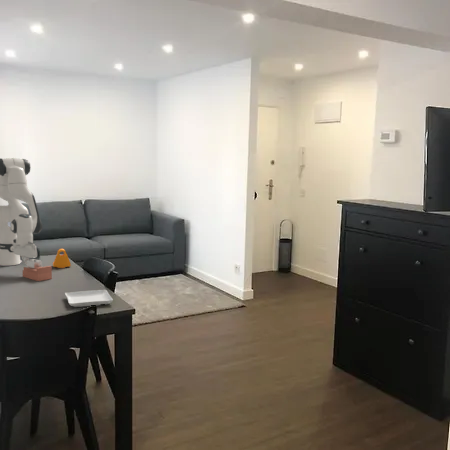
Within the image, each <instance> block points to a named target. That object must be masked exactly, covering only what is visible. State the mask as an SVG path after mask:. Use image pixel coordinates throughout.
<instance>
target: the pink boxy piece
mask: <svg viewBox="0 0 450 450" xmlns="http://www.w3.org/2000/svg"><path fill="white" fill-rule="evenodd" d="M52 267H53V265H46V266H45V265H44V266H42V267H39V268H36V270H34V269H30V268H27V266H24V267H23V269H22V277H23V278H26V279H30V280H32V281H35V282H42V281H47V280H52V278H53V277H52V276H53V275H52V271H53V268H52Z"/></svg>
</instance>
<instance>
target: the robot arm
mask: <svg viewBox="0 0 450 450" xmlns="http://www.w3.org/2000/svg"><path fill="white" fill-rule="evenodd" d="M30 172H31V163H30V161H29V160H28V159H27V158H16V157H15V158H14V157H13V158H10V157H9V158H0V199H2V200H3V201H5V202H7V203H8V205H0V266H15V265H20V264H21V263H22V264H25V265H27V263H26V260H30V259H36V258H37V257H38V250H37V248H38V247H37V245H36V244H35V243H34V235H38V234H40V233H41V231H42V230H43V222H42V219H41V217H40V213H39V209H38V205H37V201H36V199H35V196H34V193H32V192H31V191H30V190H29V187H28V182H27V175H29V174H30ZM21 201H22V202H24V203H25V204H27V205H28V208H29V210H28V208H27V206H25V205H23V203H22V202H21ZM29 212H30V213H29ZM8 223H10V226H9V224H8Z"/></svg>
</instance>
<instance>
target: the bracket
mask: <svg viewBox="0 0 450 450" xmlns="http://www.w3.org/2000/svg"><path fill="white" fill-rule="evenodd" d="M62 252H63V254H60V253H62ZM52 267H53V268H57V269H61V268H62V269H64V268H65V267H71V261H70V258H69V256H68V254H67V251H66V250H65V249H64V248H59V249H57V252H56V256H55V258H54V261H53V262H52ZM65 269H66V268H65Z"/></svg>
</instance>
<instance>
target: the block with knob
mask: <svg viewBox="0 0 450 450" xmlns="http://www.w3.org/2000/svg"><path fill="white" fill-rule="evenodd" d="M26 263H27V264H26V267H27V268H30V269H34V270H36V268H39V267H43V260H41V259H36V258H29V260H26Z"/></svg>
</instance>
